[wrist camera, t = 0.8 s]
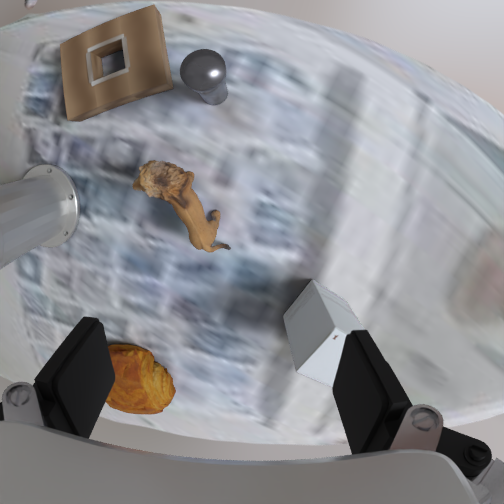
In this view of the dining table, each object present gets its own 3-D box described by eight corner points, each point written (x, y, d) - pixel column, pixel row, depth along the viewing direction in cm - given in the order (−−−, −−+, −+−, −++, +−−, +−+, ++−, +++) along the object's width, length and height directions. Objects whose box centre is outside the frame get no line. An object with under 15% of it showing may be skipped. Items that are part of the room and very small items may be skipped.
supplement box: (281, 316, 44) (293, 372, 32) (312, 277, 42) (336, 325, 30) (318, 337, 46) (338, 392, 34) (348, 301, 44) (379, 351, 32)
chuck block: (80, 121, 34) (67, 120, 30) (71, 50, 30) (59, 44, 27) (173, 88, 33) (166, 82, 30) (160, 14, 30) (153, 4, 26)
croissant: (179, 394, 52) (179, 426, 45) (103, 392, 50) (95, 422, 42) (170, 335, 47) (167, 368, 40) (83, 334, 44) (69, 364, 37)
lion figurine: (144, 175, 37) (118, 183, 29) (174, 148, 36) (155, 148, 28) (216, 258, 41) (209, 287, 32) (247, 234, 40) (248, 258, 32)
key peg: (202, 111, 35) (184, 94, 23) (196, 82, 33) (176, 55, 22) (233, 104, 34) (229, 84, 23) (227, 75, 33) (221, 44, 22)
